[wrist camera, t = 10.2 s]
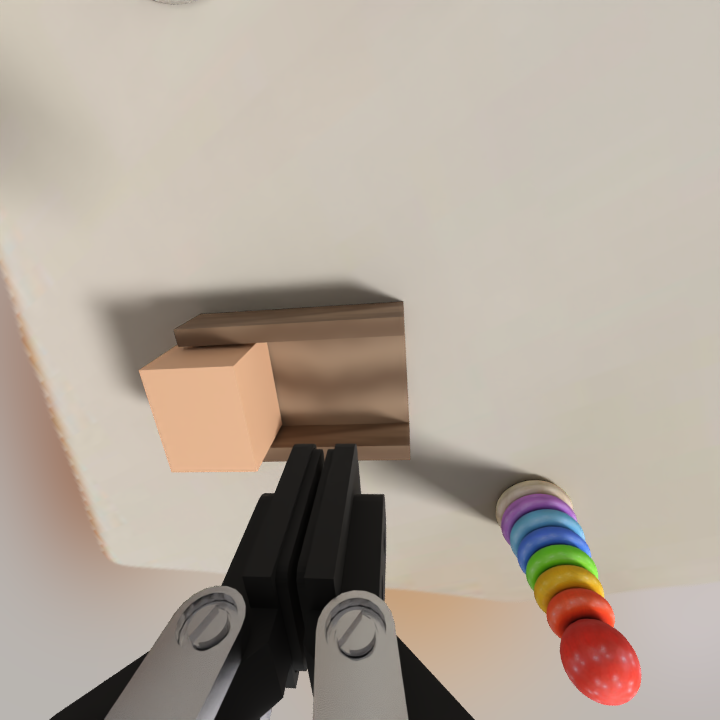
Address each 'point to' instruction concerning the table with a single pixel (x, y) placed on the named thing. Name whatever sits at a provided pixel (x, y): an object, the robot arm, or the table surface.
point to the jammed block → (214, 406)
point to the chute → (326, 373)
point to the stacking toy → (568, 590)
